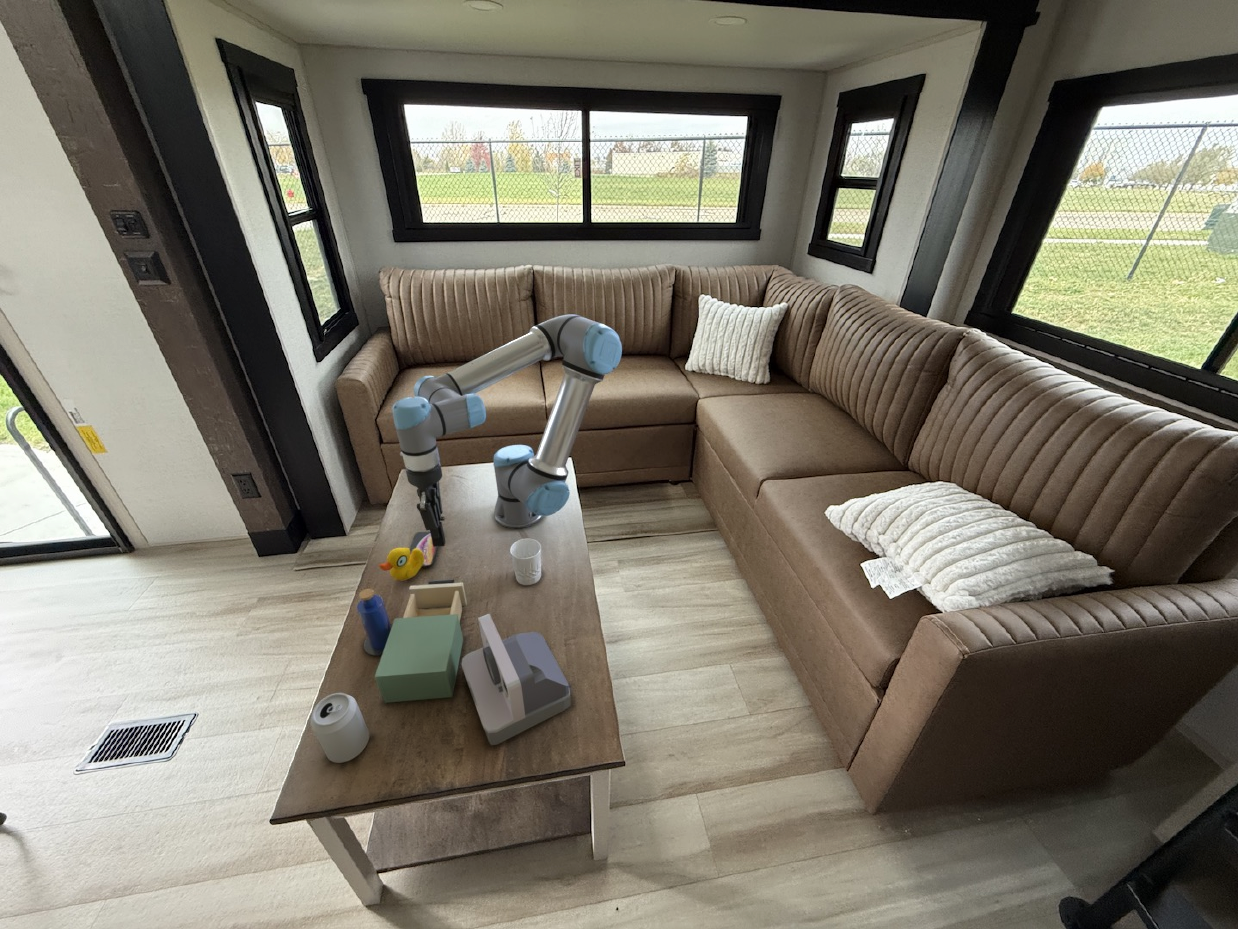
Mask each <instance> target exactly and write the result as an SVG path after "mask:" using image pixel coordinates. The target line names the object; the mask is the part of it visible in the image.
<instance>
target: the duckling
mask: <svg viewBox="0 0 1238 929" xmlns="http://www.w3.org/2000/svg"><path fill="white" fill-rule="evenodd" d="M423 563H424V554H423V552H422V551H421V550H420V549H417V548H415V549H413V550H412V553H411V554H410V548H408V547H396V548H393V549H391V550H390V551H389V553H388V554H387V556H386V562H384V563H380V564H379V569H380V570H382V571H383V572H384V571H385V572H387V571H389V574H390V576H391V577H392V578H393V579H394V580H396V581H407V580H409V579H411V578H413V577H415V576H416V575H417V573H418V572H419V571H420V569H422V568H421V567H422V565H423Z"/></svg>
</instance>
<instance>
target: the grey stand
mask: <svg viewBox="0 0 1238 929" xmlns="http://www.w3.org/2000/svg"><path fill="white" fill-rule="evenodd" d="M477 620H478V625H479V632H480V637H481V642H482V647H481V648H478V649H475V650H474V651H470V652H469V653H466V654H465V656H463V657H462V658H461V669H462V672H463V674H464V677H465V680H466V682H467V686H468V688H469V691H470V694H471V697H472V699H473V702H474V705H475V708H476V711H477V713H478V717H479V719H480V722H481V726H482V728H483V730H484V732H485V736H486V738H487V741H488V743H489V744H490V746H497V745H500V744H501V743H503V742H505V741H507V740H508V739H511V738H513V737H515V736H517V735H519V734H521V733H523V732H524V731H526V730H529V729H531V728H533V727H534V726H536V725H538V724H541V723H543V722H544V721H546V720H549V719H550V718H552V717H555V716H557V715H559V714H560V713H562V712H565V711H566V710H567V709H568V708H570V707H571V706H572V705H571V704H572V703H571V693H572V687H571V685H570V682H569V681H568V680H567V678H566V676H565V675H564V673H563V670H562V669H561V667H560V665H559V664H558V662H557V660H556V658H555V656H554V654H553V653H552V650H551V648H550V647H549V644H548V642H547V640H545V638H544V636H543V635H542V634H541V633H540V632H537V631H529V632H521V633H516V634H514V635H512V636H510V637H507V638H505V639H502V638H501V636H500V633H499V632H498V629H497V626H496V624H495V623H494V620H493V618H492V616H491V614H490V613H487V614H484V615H481V616H479V617H478V618H477Z"/></svg>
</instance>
